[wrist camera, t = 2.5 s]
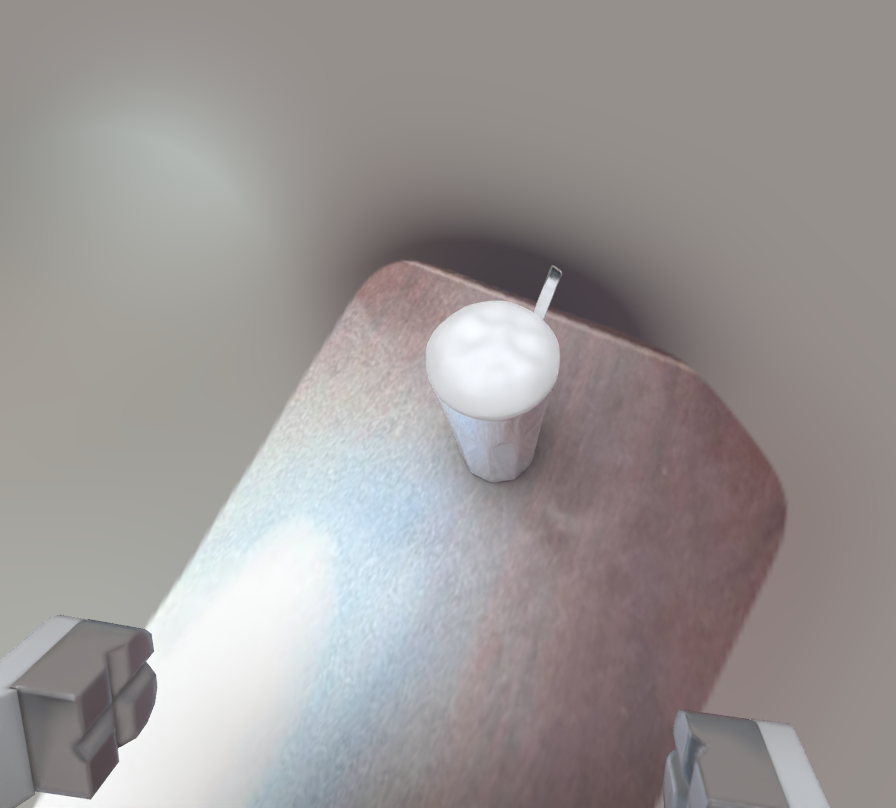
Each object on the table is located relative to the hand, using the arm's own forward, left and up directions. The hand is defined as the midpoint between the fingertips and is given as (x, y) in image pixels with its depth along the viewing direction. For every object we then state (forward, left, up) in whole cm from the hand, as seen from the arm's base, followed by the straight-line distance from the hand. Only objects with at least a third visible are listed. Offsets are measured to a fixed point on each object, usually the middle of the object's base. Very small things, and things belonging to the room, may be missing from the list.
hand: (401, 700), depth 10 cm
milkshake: (+2, -11, -17) cm, 20 cm away
